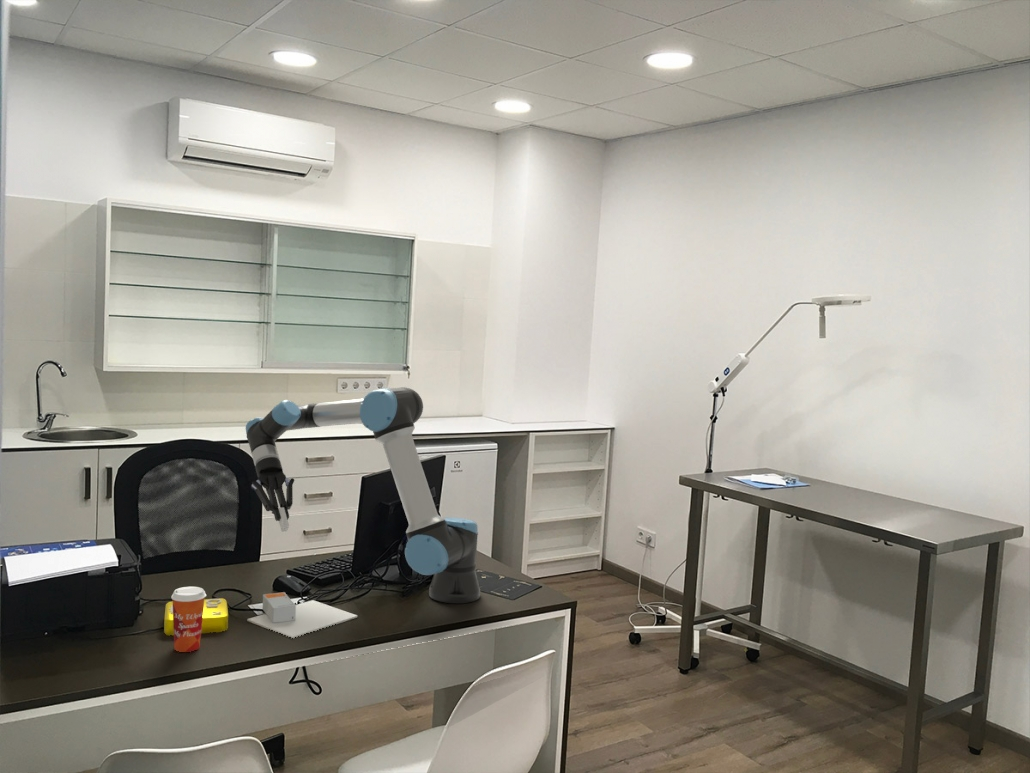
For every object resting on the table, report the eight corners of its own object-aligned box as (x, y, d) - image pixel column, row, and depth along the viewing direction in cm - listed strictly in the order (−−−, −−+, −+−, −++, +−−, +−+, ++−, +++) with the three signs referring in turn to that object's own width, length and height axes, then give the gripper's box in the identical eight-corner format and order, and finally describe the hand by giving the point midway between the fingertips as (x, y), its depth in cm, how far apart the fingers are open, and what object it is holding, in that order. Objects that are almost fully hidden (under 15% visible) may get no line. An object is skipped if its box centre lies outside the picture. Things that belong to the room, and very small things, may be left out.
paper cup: (170, 656, 197) (171, 597, 196) (169, 644, 204) (170, 587, 203) (205, 652, 200) (207, 594, 199) (203, 641, 207) (205, 584, 206)
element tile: (165, 617, 222) (166, 599, 222) (225, 613, 228) (226, 595, 228) (163, 637, 209) (164, 618, 208) (228, 633, 214) (228, 614, 214)
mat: (357, 617, 229) (357, 615, 229) (292, 638, 211) (292, 636, 211) (312, 601, 240) (312, 600, 240) (247, 620, 222) (247, 619, 222)
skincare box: (284, 591, 233) (296, 605, 222) (283, 606, 233) (296, 621, 223) (262, 593, 230) (273, 608, 219) (261, 609, 230) (272, 624, 220)
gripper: (285, 469, 265) (303, 533, 252) (243, 471, 257) (259, 538, 245) (291, 454, 260) (310, 519, 247) (249, 456, 252) (266, 523, 240)
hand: (285, 528), depth 246 cm, fingers closed
